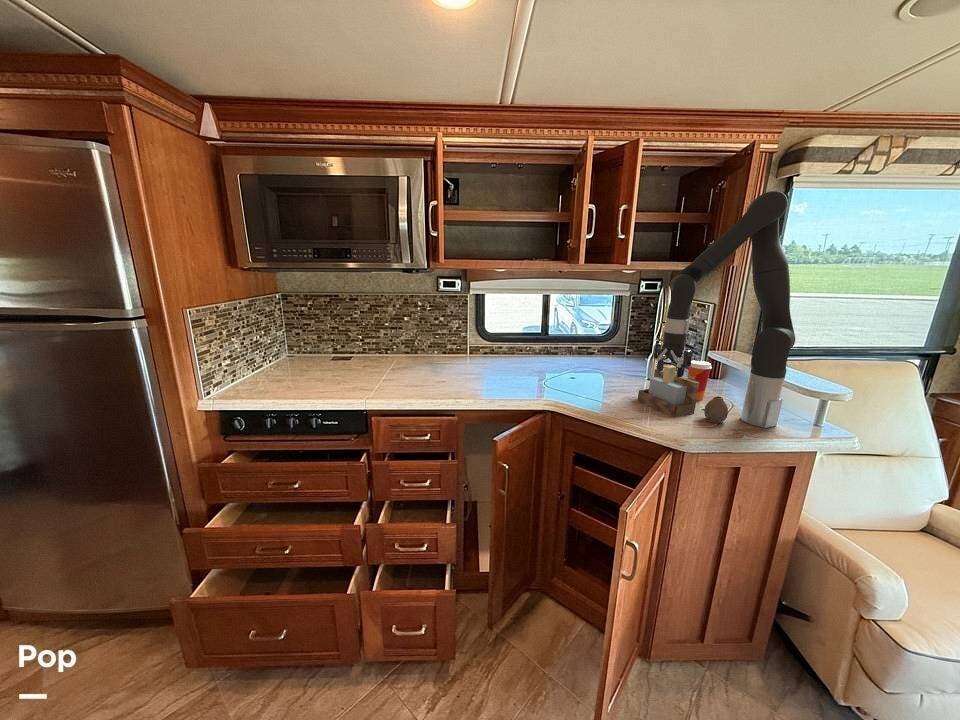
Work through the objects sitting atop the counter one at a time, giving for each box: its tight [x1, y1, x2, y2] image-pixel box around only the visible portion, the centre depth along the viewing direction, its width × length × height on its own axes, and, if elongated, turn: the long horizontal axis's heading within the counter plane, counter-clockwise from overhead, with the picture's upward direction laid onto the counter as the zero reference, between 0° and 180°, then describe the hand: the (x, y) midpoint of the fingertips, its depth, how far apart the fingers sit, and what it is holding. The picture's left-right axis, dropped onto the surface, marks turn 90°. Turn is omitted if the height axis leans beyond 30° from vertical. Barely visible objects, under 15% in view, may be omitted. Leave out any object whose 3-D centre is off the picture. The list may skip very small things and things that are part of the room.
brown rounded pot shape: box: [703, 395, 729, 424], centre depth 125 cm, size 7×7×9 cm
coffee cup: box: [687, 359, 713, 402], centre depth 145 cm, size 8×8×15 cm
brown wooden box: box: [637, 368, 700, 418], centre depth 137 cm, size 18×10×12 cm, turn 22°
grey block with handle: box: [648, 365, 687, 406], centre depth 137 cm, size 12×5×16 cm, turn 22°
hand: (669, 373), depth 135 cm, fingers open, 8 cm apart
